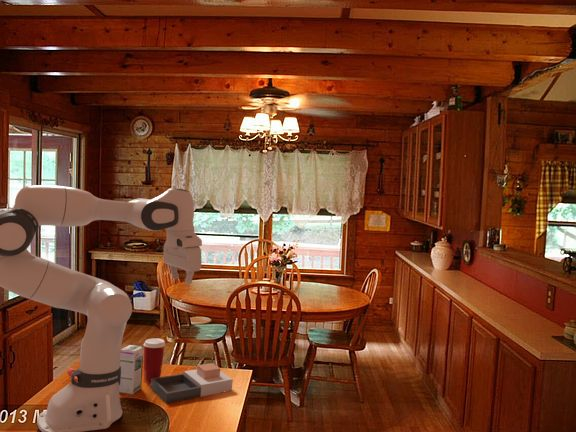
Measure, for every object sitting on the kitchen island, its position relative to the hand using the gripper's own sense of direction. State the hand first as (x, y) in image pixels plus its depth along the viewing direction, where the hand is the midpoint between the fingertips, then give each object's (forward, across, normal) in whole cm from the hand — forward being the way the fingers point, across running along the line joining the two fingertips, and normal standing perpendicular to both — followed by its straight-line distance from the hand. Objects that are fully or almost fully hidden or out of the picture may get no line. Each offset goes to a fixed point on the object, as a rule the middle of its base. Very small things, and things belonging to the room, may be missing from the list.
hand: (181, 281), depth 151 cm
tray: (+39, -6, -1) cm, 40 cm away
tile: (+36, -5, +12) cm, 39 cm away
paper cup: (+39, -20, -3) cm, 44 cm away
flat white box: (+40, -5, +11) cm, 42 cm away
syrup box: (+38, -15, -13) cm, 43 cm away
